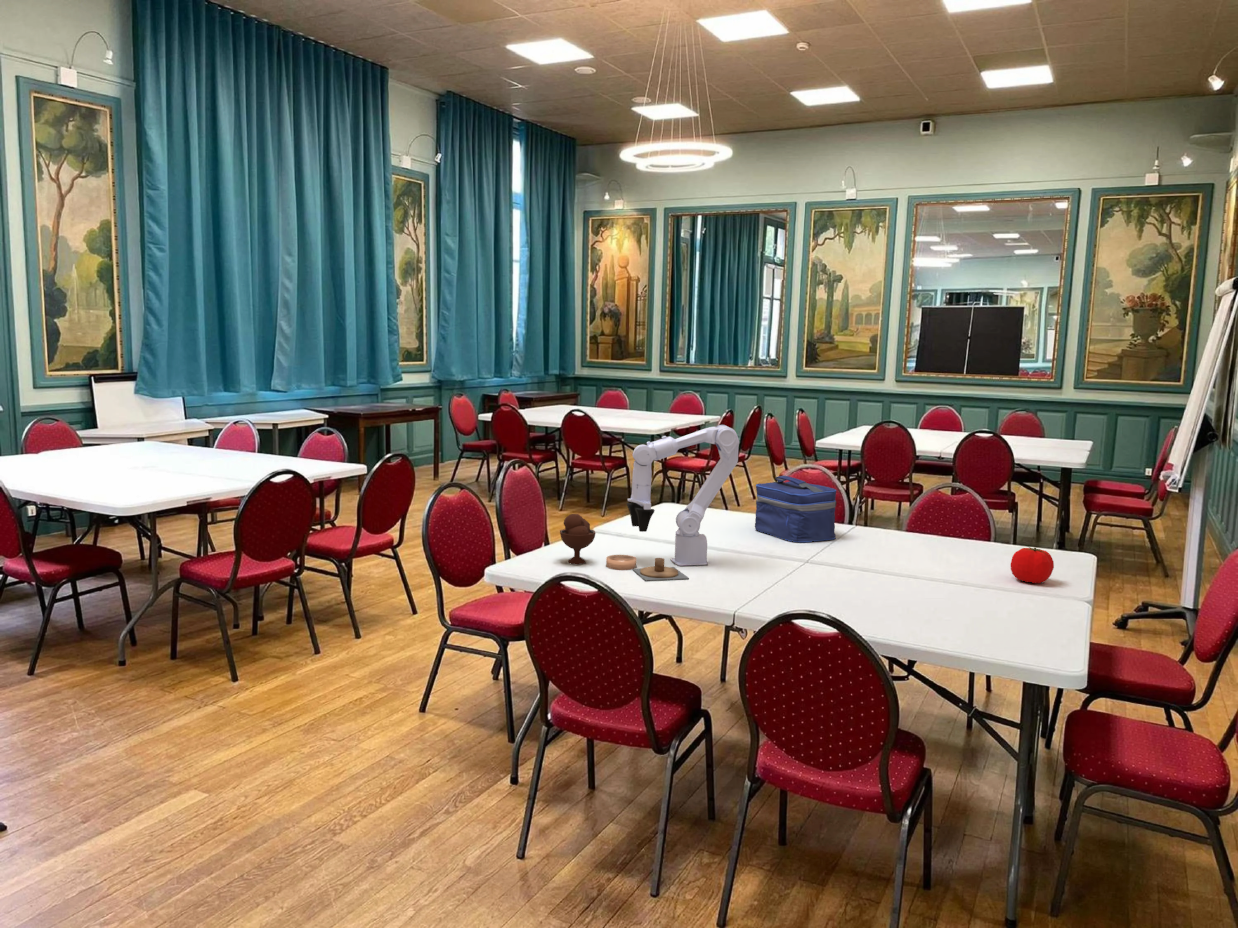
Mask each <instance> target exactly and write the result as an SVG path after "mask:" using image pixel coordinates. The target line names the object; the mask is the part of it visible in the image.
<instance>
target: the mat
mask: <svg viewBox="0 0 1238 928" xmlns="http://www.w3.org/2000/svg"><path fill="white" fill-rule="evenodd" d="M669 567H670V568H674V569H676V570H678V575H677V576H676V577H672V578H651V577H646V576H643V575H641V574H640V570H641V569H642V568H643V567H642V568H634V569H631V571H633V572H634V573H635V574H636V575H637V576H638V577H639V578H640V579H642V580H643V581H644V582H661V581H663V582H664V581H683V580H684V581H685V580H690V578H689V577H688V576H687V575H685V574H684V573H683V572H681V570H679V569H677V568H676V567H674V566H672V567H671V566H669Z"/></svg>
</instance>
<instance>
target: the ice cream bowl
mask: <svg viewBox="0 0 1238 928" xmlns="http://www.w3.org/2000/svg"><path fill="white" fill-rule="evenodd" d="M590 524H591V523H590V522H588V521H587V520H586V519H585V518H583V516H581V515H580V514H579V513H571V514H568V515H567V516H566V517H565V518H564V521H563V526H564V527H565V528H564V529H560V530H559V534H560V539H561V541H562V543H564V544H565V546H567V547H568V548H570V549H572V550H573V552H574V554H573V557H571V558H569V559H568V560H567V563H568V564H570V563H571V565H576V566H577V565H584V564H586V563H587V562H586V559H585V558H583V557H581V553H580V552H581V550H582V549H585V548H587V547H588V546H590V545H591V544H592V543H593V542H594V541H595V538H596V531H595V530H594V529H591V525H590Z"/></svg>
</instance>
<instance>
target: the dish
mask: <svg viewBox="0 0 1238 928" xmlns="http://www.w3.org/2000/svg"><path fill="white" fill-rule="evenodd" d="M605 559H606V563H605V567H606V568H608V569H611V570H617V571H629V570H632V569H637V557H636V556H633V555H628V554H612V555H607V556H606V558H605Z"/></svg>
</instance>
